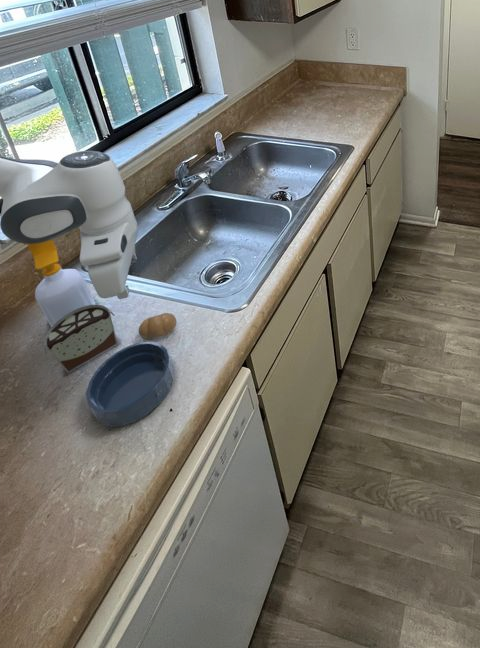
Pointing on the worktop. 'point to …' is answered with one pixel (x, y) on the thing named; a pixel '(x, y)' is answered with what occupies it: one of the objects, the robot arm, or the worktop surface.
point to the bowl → (130, 384)
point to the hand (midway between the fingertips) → (128, 278)
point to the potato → (157, 326)
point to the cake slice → (81, 336)
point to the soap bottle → (58, 284)
